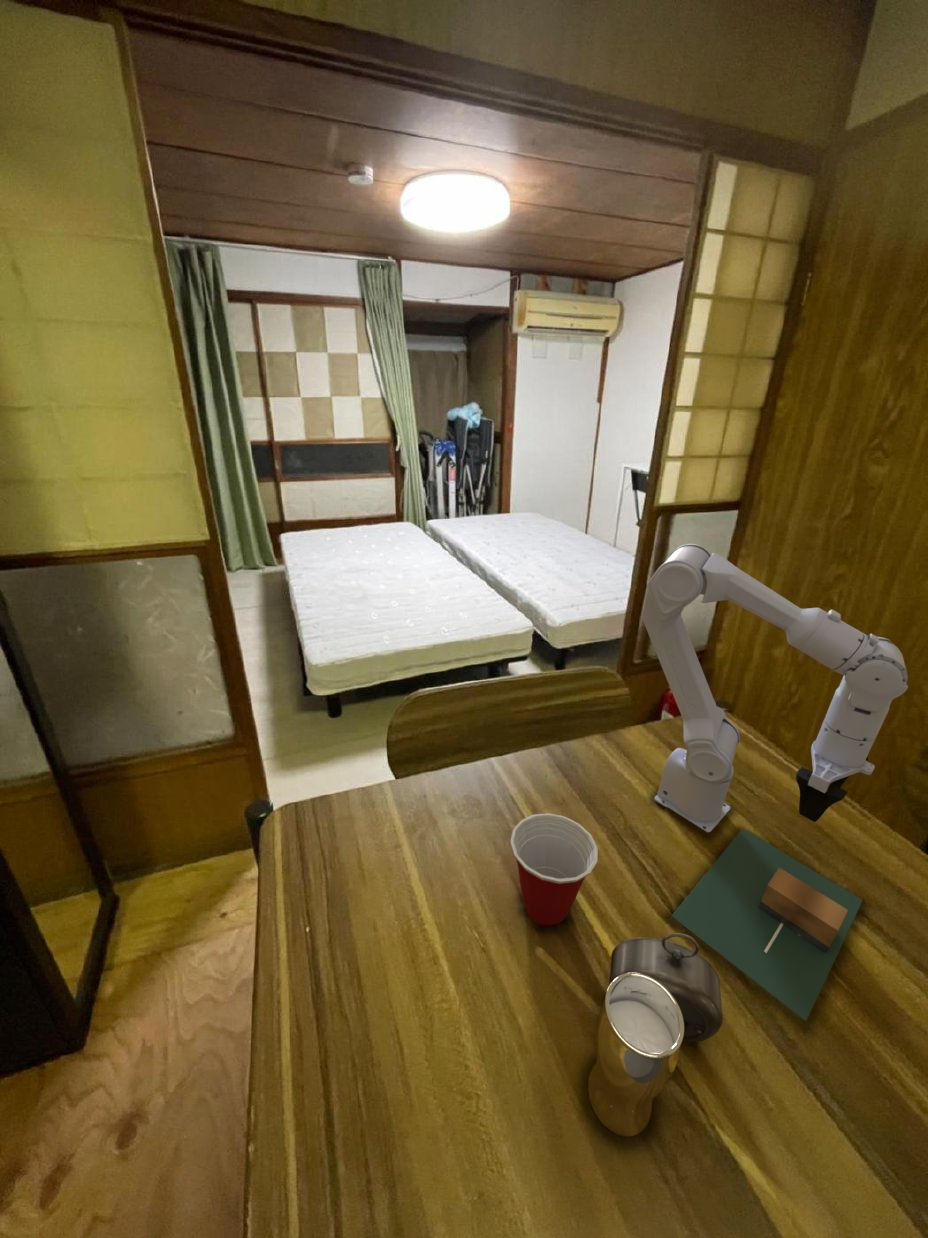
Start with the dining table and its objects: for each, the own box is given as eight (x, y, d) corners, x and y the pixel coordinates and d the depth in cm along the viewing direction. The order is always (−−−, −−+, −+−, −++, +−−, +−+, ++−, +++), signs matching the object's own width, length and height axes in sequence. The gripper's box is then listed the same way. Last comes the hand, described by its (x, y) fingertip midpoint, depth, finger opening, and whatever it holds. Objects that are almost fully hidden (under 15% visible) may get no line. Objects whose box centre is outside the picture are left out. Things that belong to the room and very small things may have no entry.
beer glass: (574, 1057, 54) (592, 972, 47) (639, 1051, 54) (665, 966, 48) (595, 1147, 48) (619, 1065, 41) (668, 1139, 48) (702, 1056, 41)
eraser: (758, 907, 68) (767, 884, 66) (770, 889, 71) (779, 867, 69) (826, 953, 63) (838, 930, 61) (836, 932, 65) (848, 910, 64)
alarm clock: (704, 1019, 57) (741, 927, 50) (708, 1076, 52) (749, 984, 45) (603, 983, 60) (625, 892, 53) (599, 1034, 56) (621, 942, 48)
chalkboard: (670, 919, 67) (671, 916, 67) (741, 830, 81) (742, 828, 80) (804, 1024, 57) (806, 1021, 56) (861, 903, 70) (863, 900, 70)
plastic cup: (594, 888, 71) (606, 826, 66) (576, 960, 63) (587, 896, 57) (521, 859, 75) (526, 798, 70) (493, 923, 67) (497, 860, 61)
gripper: (870, 768, 61) (832, 848, 67) (900, 719, 69) (864, 794, 75) (804, 738, 65) (774, 816, 71) (840, 696, 74) (810, 768, 80)
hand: (817, 803), depth 74 cm, fingers open, 7 cm apart
